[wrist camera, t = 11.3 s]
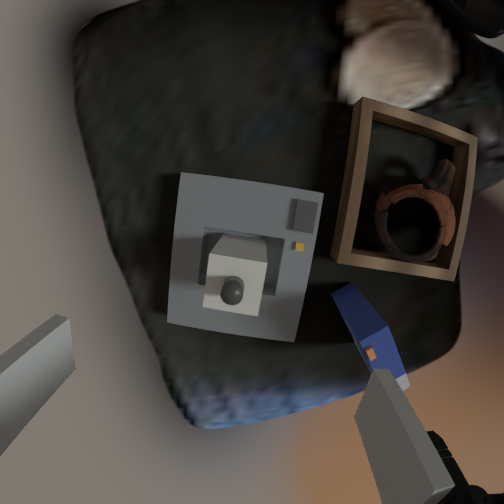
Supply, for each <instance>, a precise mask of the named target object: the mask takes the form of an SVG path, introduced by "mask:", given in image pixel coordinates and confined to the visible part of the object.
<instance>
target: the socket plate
mask: <svg viewBox="0 0 504 504" xmlns="http://www.w3.org/2000/svg"><path fill="white" fill-rule="evenodd" d="M323 196H324V193H319V192H314V191H308V190H303V189H297V188H291V187H285V186H279V185H272V184H266V183H259V182H253V181H246V180H239V179H232V178H224V177H216V176H208V175H200V174H191V173H182V172H181V176H180V184H179V191H178V199H177V208H176V217H175V226H174V236H173V246H172V257H171V269H170V283H169V298H168V316H167V322H168V323H173V324H178V325H183V326H189V327H194V328H200V329H205V330H211V331H217V332H223V333H230V334H236V335H243V336H250V337H257V338H264V339H271V340H279V341H287V342H294V341H295V337H296V333H297V328H298V324H299V319H300V315H301V310H302V306H303V301H304V296H305V292H306V287H307V282H308V277H309V272H310V267H311V262H312V257H313V252H314V247H315V241H316V236H317V230H318V225H319V219H320V213H321V208H322V202H323ZM224 233H230V234H236V235H242V236H248V237H254V238H260V239H266V248H267V262H268V263H267V269H266V274H265V280H264V285H263V291H262V296H261V301H260V307H259V312H258V316H252V315H246V314H240V313H234V312H228V311H222V310H217V309H211V308H206V307H203V300H204V292H205V283H206V276H207V268H208V260H209V253H210V252H211V251H212V249H213V248H214V246H215V245H216V244H217V242H218V241H219V240H220V238H221V237H222V236H223V234H224Z"/></svg>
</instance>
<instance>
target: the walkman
mask: <svg viewBox="0 0 504 504" xmlns="http://www.w3.org/2000/svg"><path fill="white" fill-rule="evenodd" d="M331 295H332V297H333V299H334V301H335V303H336V305H337V307H338V309H339V311H340V314H341V315H342V317H343V320H344V322H345V324H346V326H347V328H348V330H349V332H350V334H351V336H352V337H353V340H354V342H355V344H356V345H357V347H358V349H359V351H360V353H361V355H362V357H363V358H364V360H365V362H366V364H367V366H368V368H369V370H370V372H371V373H372V372H373V369H390V371H391V373H392V374H393V376H394V378H395V379H396V381H397V383H398V384H399V386H400V388H401V389H402V391H403V390H405V389H407V388H408V387H409V386H410V385H409V382H408V379H407V376H406V373H405V370H404V367H403V364H402V362H401V359H400V356H399V353H398V351H397V348H396V345H395V343H394V340H393V337H392V335H391V332H390V330H389V327H388V325H387V324H386V323H385V321H384V320H383V319H382V318H381V317H380V315H379V314H378V313H377V312H376V311H375V309H374V308H373V307H372V306H371V305H370V303H369V302H368V301H367V300H366V299H365V298H364V296H363V295H362V294H361V293H360V292H359V290H358V289H357V288H356V287H355V286H354V285H353V283H352V282H351V283H349V284H347V285H346V286H344V287H342V288H340V289H338V290H336V291H335V292H333V293H331Z"/></svg>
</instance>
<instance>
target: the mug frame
mask: <svg viewBox="0 0 504 504" xmlns="http://www.w3.org/2000/svg"><path fill="white" fill-rule="evenodd" d="M372 120H375V121H379V122H382V123H386V124H389V125H393V126H396V127H399V128H403V129H406V130H409V131H412V132H415V133H418V134H421V135H424V136H427V137H430V138H433V139H435V140H438V141H441V142H444V143H446V144H449V145H452V146H454V150H453V160H452V164H453V165H454V167H455V170H456V171H455V173H454V176H453V181H452V185H451V188H450V192H449V199H450V200H451V202H452V204H453V207H454V211H455V231H454V234H453V237H452V239H451V241H450V243H449V244H448V246H445V245H443V244H442V245H441V248H440V249H439V251H438V254H437V257H436V259H435V262H430V261H422V262H406V261H402V260H401V259H399V258H397V257H396V256H394V255H391V254H385V253H379V252H373V251H368V250H362V249H356V248H352V245H353V240H354V235H355V230H356V225H357V220H358V214H359V208H360V203H361V197H362V191H363V184H364V178H365V171H366V164H367V157H368V149H369V142H370V133H371V124H372ZM476 153H477V137H475V136H473V135H470V134H468V133H466V132H464V131H461V130H459V129H457V128H454V127H452V126H449V125H447V124H444V123H442V122H439V121H437V120H434V119H431V118H429V117H426V116H423V115H420V114H417V113H415V112H412V111H409V110H406V109H403V108H400V107H396V106H393V105H390V104H387V103H383V102H380V101H376V100H373V99H369V98H366V97H362V98H361V99H359V100H358V101H357V102H356V103H355V104H353V112H352V121H351V129H350V137H349V144H348V152H347V159H346V166H345V173H344V179H343V186H342V192H341V198H340V204H339V210H338V215H337V221H336V226H335V232H334V237H333V242H332V247H331V252H330V256H331V257H332V258H333V259H334V260H335V261H336V262H337V263H340V264H346V265H353V266H359V267H366V268H372V269H379V270H385V271H392V272H398V273H405V274H411V275H418V276H424V277H431V278H437V279H444V280H450V281H454V279H455V275H456V271H457V268H458V264H459V259H460V255H461V251H462V247H463V242H464V237H465V232H466V227H467V222H468V216H469V211H470V204H471V198H472V191H473V183H474V175H475V165H476Z"/></svg>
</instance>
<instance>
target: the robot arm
mask: <svg viewBox="0 0 504 504" xmlns="http://www.w3.org/2000/svg"><path fill="white" fill-rule="evenodd" d="M438 2H439V3H440V4H441V5H442V7H443V8H444V9H445V10H446V11H447V12H448V13H449V14H450V15H451V16H452V17H453V18H454V19H455V20H456V21H457V22H459V23H460V24H461V25H462V26H464V27H465V28H467V29H468V30H470V31H471V32H473V33H475V34H477V35H479V36H481V37H485V38H496V37H498V36H500V35H502V34H504V0H438ZM70 331H71V330H70V321H69V318H67V317H63V316H60V315H57V314H56V315H54V316H53V317H51V318H50V319H49V320H47V321H46V322H45V323H43V324H42V325H40V326H39V327H38V328H36V329H35V330H34V331H32V332H31V333H30V334H28V335H27V336H26V337H24V338H23V339H22V340H20V341H19V342H18V343H16V344H15V345H14V346H12V347H11V348H10V349H9V350H7V351H6V352H5V353H3V354H2V355H1V356H0V456H1V455H2V454H3V452H4V451H5V450H6V449H7V447H8V446H9V445H10V444H11V443H12V441H13V440H14V439H15V438H16V437H17V435H18V434H19V433H20V432H21V431H22V429H23V428H24V427H25V426H26V425H27V424H28V422H29V421H30V420H31V419H32V418H33V417H34V415H35V414H36V413H37V412H38V411H39V409H40V408H41V407H42V406H43V405H44V404H45V403H46V401H47V400H48V399H49V398H50V397H51V396H52V395H53V394H54V392H55V391H56V390H57V389H58V388H59V387H60V386H61V384H63V382H64V381H65V380H66V379H67V378H68V377H69V376H70V375H71V373H72V372H73V371H74V370H75V369H76V367H75V361H74V354H73V348H72V339H71V332H70ZM354 418H355V421H356V424H357V427H358V430H359V433H360V435H361V438H362V442H363V445H364V448H365V451H366V453H367V456H368V460H369V463H370V466H371V469H372V472H373V475H374V478H375V482H376V485H377V488H378V491H379V494H380V498H381V501H382V504H504V493H502V494H487V492H486V491H485V490H484V489H483V488H481V487H479V486H476V485H469V484H468V483H467V481H466V479H465V477H464V475H463V473H462V472H461V470H460V468H459V466H458V465H457V463H456V461H455V460H454V458H452V454H451V453H450V451H449V450H448V447H447V446H446V444H445V442H444V441H443V439H442V438H441V437H440V436H439V435H438V434H436V433H435V432H434V431H427V432H426V430H425V429H424V427H423V425H422V423H421V422H420V420H419V418H418V416H417V415H416V413H415V411H414V410H413V408H412V406H411V405H410V403H409V401H408V399H407V398H406V396H405V394H404V393H403V391H402V389H401V388H400V386H399V384H398V383H397V381H396V379H395V378H394V376H393V374H392V373H391V371H390V369H373V372H372V374H371V377H370V380H369V382H368V385H367V387H366V390H365V392H364V395H363V397H362V400H361V402H360V404H359V406H358V409H357V411H356V414H355V416H354Z"/></svg>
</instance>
